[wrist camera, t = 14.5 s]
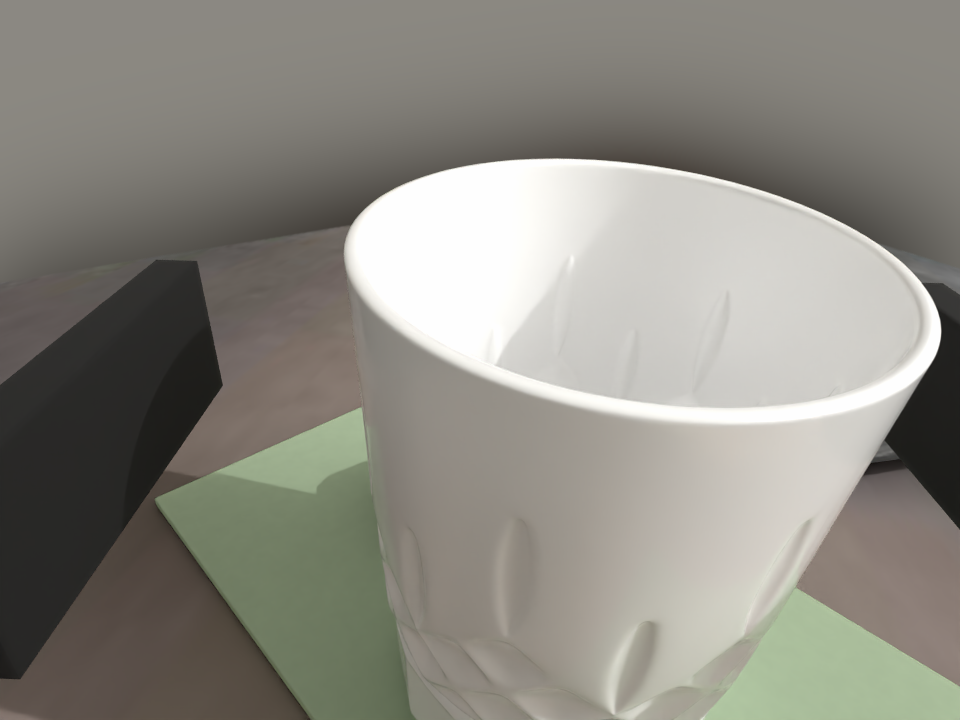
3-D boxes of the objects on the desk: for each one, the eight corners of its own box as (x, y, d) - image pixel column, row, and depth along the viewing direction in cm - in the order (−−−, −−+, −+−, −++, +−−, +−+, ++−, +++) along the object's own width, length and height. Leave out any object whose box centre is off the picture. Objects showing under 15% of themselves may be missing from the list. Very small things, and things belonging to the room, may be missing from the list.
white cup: (755, 906, 11) (1096, 482, 6) (316, 800, 12) (228, 349, 6) (707, 546, 18) (842, 184, 12) (424, 496, 19) (426, 139, 13)
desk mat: (156, 505, 19) (153, 497, 19) (439, 378, 26) (439, 372, 26) (858, 1479, 7) (867, 1478, 7) (1060, 758, 14) (1067, 750, 13)
